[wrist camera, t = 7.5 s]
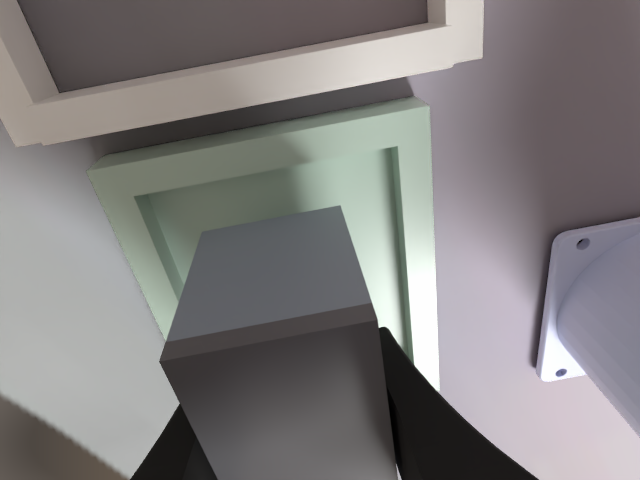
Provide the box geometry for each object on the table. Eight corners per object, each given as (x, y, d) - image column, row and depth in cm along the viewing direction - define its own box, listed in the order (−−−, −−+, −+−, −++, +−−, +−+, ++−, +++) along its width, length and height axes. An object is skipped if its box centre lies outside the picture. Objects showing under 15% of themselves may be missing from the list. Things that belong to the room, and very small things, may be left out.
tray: (414, 95, 13) (429, 105, 12) (428, 364, 19) (439, 390, 18) (104, 155, 13) (85, 171, 12) (213, 404, 19) (209, 434, 18)
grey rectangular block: (340, 205, 12) (377, 319, 8) (367, 376, 15) (403, 522, 11) (201, 231, 12) (159, 361, 8) (259, 396, 15) (253, 550, 11)
